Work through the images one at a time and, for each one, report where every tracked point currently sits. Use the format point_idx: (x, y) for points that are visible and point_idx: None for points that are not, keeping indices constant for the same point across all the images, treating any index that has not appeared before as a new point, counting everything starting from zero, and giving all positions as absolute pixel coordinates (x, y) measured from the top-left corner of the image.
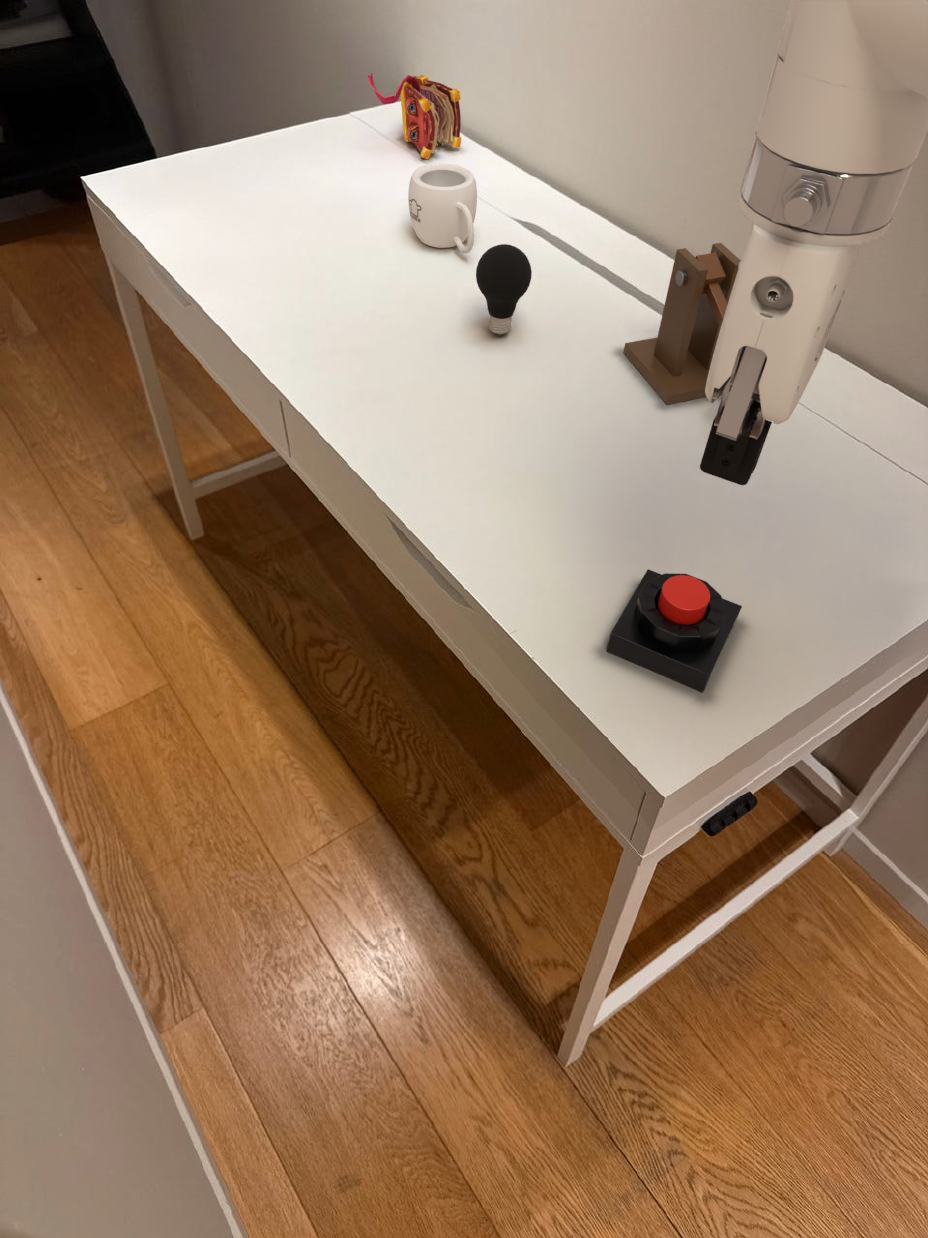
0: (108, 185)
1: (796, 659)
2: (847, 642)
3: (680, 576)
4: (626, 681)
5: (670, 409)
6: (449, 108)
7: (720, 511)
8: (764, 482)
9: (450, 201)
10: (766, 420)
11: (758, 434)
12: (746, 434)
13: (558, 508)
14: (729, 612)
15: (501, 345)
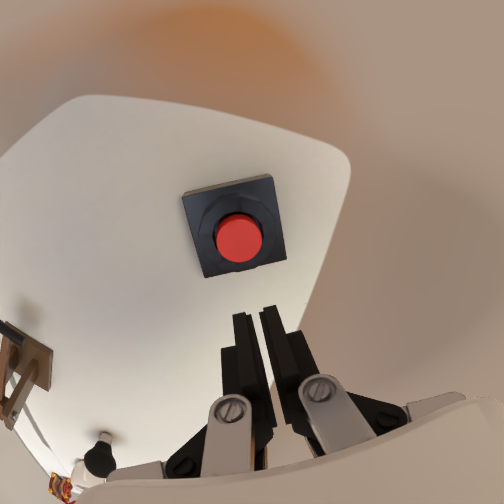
0: None
1: (182, 134)
2: (136, 114)
3: (226, 256)
4: (296, 223)
5: (53, 346)
6: (53, 487)
7: (91, 270)
8: (45, 263)
9: (89, 482)
10: (245, 393)
11: (341, 386)
12: (351, 394)
13: (187, 351)
14: (197, 201)
15: (111, 429)
